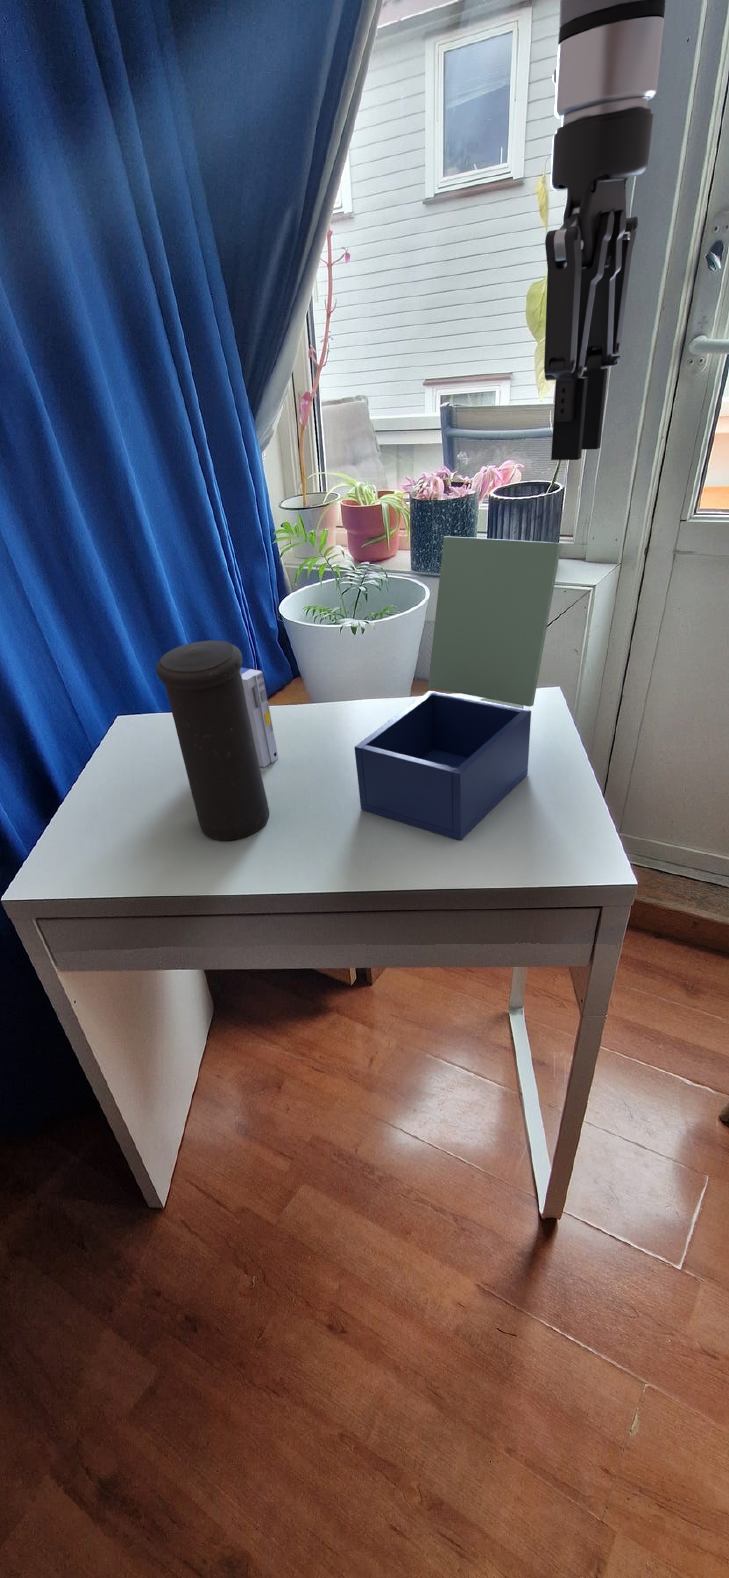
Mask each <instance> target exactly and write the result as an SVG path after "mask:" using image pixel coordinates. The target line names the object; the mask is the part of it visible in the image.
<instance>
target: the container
mask: <svg viewBox="0 0 729 1578" xmlns="http://www.w3.org/2000/svg"><path fill="white" fill-rule="evenodd" d="M242 664H243V655H242V652H241V650H240V649H239V648H238V647H237V646H236V645H234V644H231V642H228V641H225V640H218V639H217V640H216V639H215V640H214V639H211V640H200V641H195V642H190V643H186V644H183V645H179V646H177V647H175V648H173V649H171V650H169V651H168V652H166V653H165V654H164V655H162V656H161V658H160V659H159V660H158V662H157V664H156V675H157V677H158V679H159V681H161V682H162V684H163V685H164V687H165V692H166V695H167V699H168V704H169V707H170V710H171V713H172V714H171V715H172V718H173V722H174V726H175V731H176V735H177V739H178V743H179V747H180V751H181V755H182V759H183V763H184V767H185V772H186V775H187V780H188V784H189V789H190V791H191V792H190V793H191V796H192V800H193V804H194V809H195V813H196V817H197V821H198V824H199V828H200V830H201V832H202V833H203V834H204V835H205V836H207V837H209V838H211V839H214V840H218V841H232V840H239V839H242V838H245V837H248V836H251V835H252V834H254V833H256V832H257V831H259V830H260V829H262V828H263V827H264V826H265V825H266V823H267V821H268V819H269V817H270V809H269V803H268V797H267V793H266V789H265V785H264V780H263V775H262V771H261V770H262V769H261V767H260V766H259V761H258V756H257V751H256V747H255V742H254V737H253V732H252V727H251V722H250V717H249V712H248V707H247V703H246V697H245V692H244V686H243V681H242V676H241V671H240V669H241V667H242Z"/></svg>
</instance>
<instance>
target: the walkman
mask: <svg viewBox="0 0 729 1578" xmlns="http://www.w3.org/2000/svg"><path fill="white" fill-rule="evenodd" d="M240 671H241V676H242V681H243V686H244V692H245V697H246V703H247V707H248V712H249V717H250V722H251V727H252V732H253V737H254V742H255V747H256V751H257V756H258V761H259V766H260V768H266V767H267V766H268V765H270V764H273V763H274V762H276V761H277V760H278V759H279V755H278V749H277V743H276V738H275V732H274V726H273V721H272V715H271V710H270V704H269V701H268V696H267V690H266V685H265V679H264V674H263V671H262V670H259V669H253V668H252V669H251V668H247V667H242V666H241V669H240Z"/></svg>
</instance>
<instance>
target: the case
mask: <svg viewBox="0 0 729 1578" xmlns="http://www.w3.org/2000/svg"><path fill="white" fill-rule="evenodd" d="M531 721H532V710H531V709H526V708H521V707H515V706H510V705H505V704H501V703H495V702H490V701H486V700H480V699H475V698H469V697H464V696H459V695H456V694H455V695H454V694H450V693H449V694H448V693H442V692H439V691H434V690H428V691H426V693H424V694H423V695H422V696H420V697H419V698H418V699H416V700H415V701H413V702H412V703H411V704H409V705H408V706H407V707H405V708H404V709H403V710H401V711H400V712H399V713H398V714H396V715H395V716H394V717H392V718H391V719H390V720H388V721H387V722H386V723H384V724H383V725H381V726H380V727H379V728H377V729H376V730H375V731H374V732H372V733H370V734H369V735H368V736H367V737H365V738H364V739H363V740H361V741H360V742H359V743H357V744H355V746H354V756H355V764H356V765H355V767H356V776H357V785H358V794H359V803H360V810H362V811H365V812H368V813H372V814H374V815H377V816H381V817H384V818H386V819H387V818H388V819H390V820H394V821H396V822H399V823H403V824H407V825H410V826H412V827H416V828H419V829H422V830H425V831H429V832H431V833H435V834H438V835H442V836H444V837H447V838H451V839H453V840H457V841H462V840H463V839H464V838H465V837H466V836H467V835H468V834H469V833H470V832H471V831H472V830H473V829H474V828H475V827H476V826H477V825H478V824H479V823H480V822H481V821H482V820H483V819H484V818H485V817H486V816H487V815H488V814H489V813H490V812H491V811H492V810H493V809H494V808H495V807H496V806H497V805H498V804H499V803H500V802H501V801H502V800H503V799H504V798H505V797H507V795H508V794H509V793H510V792H512V790H513V789H514V788H516V786H518V784H519V783H520V782H521V781H523V780H524V779H525V778H526V777H527V776H528V774H529V756H530V755H529V754H530V737H531Z"/></svg>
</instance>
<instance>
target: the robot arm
mask: <svg viewBox="0 0 729 1578" xmlns="http://www.w3.org/2000/svg"><path fill="white" fill-rule="evenodd" d="M666 2H667V0H559V3H560V4H559V22H558V23H559V24H558V26H559V27H558V38H557V39H558V41H557V44H558V47H557V64H556V65H557V66H556V68H555V69H554V71H553V74H552V83H554V85H555V104H554V116H555V117H556V118H557V119H558V120H561V126H560V127H558V128H556V130H555V134H553V135H552V145H551V146H552V149H551V164H550V165H551V166H550V167H551V168H550V187H551V188H552V190H554V191H556V192H561V191H567V195H566V199H565V205H564V206H565V207H564V209H563V214H562V225H561V226H560V227H559V228H557V229H552V230H549V231H547V232H546V234H545V238H544V239H545V240H544V246H545V247H544V248H545V256H546V268H547V271H546V273H547V275H546V300H545V301H546V304H545V305H546V306H545V307H546V308H545V331H544V333H545V335H544V360H543V363H544V364H543V373H544V379H545V381H547V382H548V381H549V382H550V381H555V392H554V406H553V420H552V421H553V424H552V439H551V454H550V461H578V460H580V459H582V452H583V451H582V450H598V449H600V448H601V444H602V443H601V442H602V432H603V423H604V414H605V413H604V411H605V403H606V394H607V393H606V391H607V381H608V373H609V368H610V367H617V366H619V363H620V361H621V355H619V354H620V351H621V347H622V337H623V331H624V330H623V329H624V321H625V313H626V303H627V297H628V296H627V295H628V288H629V282H630V281H629V280H630V271H631V262H632V255H633V249H634V245H635V240H636V236H637V231H638V227H639V218H638V216H630V217H627V195H626V194H627V192H626V191H627V186H626V184H627V181H628V179H630V178H634V177H637V176H641V175H642V174H643V173H644V172H645V171H646V170H647V168H648V165H649V157H650V149H651V142H652V131H653V124H654V123H653V122H654V113H652V109H651V108H647V107H648V102H649V100H651V99H653V98H654V97H655V95H656V94H657V92H658V83H659V75H660V74H659V73H660V64H661V56H662V55H661V54H662V44H663V35H664V26H665V11H666ZM608 367H609V368H608Z"/></svg>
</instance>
